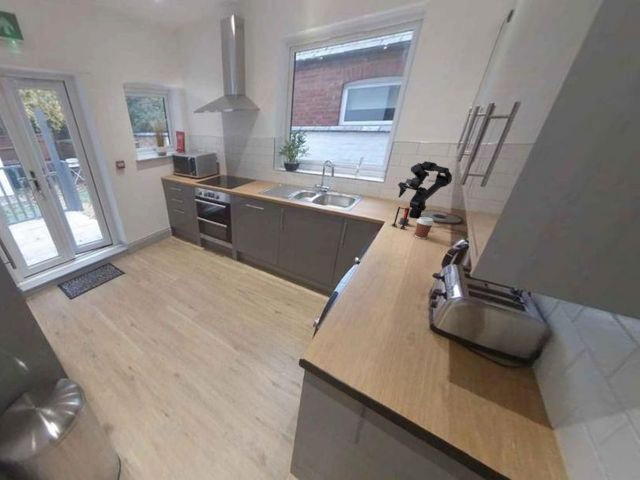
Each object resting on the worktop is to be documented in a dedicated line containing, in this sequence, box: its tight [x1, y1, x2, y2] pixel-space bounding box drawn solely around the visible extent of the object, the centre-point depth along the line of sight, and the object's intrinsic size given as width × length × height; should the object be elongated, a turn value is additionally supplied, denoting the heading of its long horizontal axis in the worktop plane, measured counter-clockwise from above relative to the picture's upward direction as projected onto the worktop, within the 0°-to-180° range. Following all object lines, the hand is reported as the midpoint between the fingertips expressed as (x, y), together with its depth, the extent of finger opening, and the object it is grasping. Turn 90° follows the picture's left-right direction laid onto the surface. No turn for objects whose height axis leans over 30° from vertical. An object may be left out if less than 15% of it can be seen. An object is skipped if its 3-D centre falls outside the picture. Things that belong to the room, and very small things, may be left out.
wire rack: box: [391, 206, 410, 230], centre depth 170 cm, size 2×8×14 cm, turn 39°
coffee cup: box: [413, 216, 435, 240], centre depth 157 cm, size 9×9×12 cm
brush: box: [398, 206, 411, 226], centre depth 174 cm, size 6×5×12 cm
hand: (404, 199), depth 177 cm, fingers open, 9 cm apart
